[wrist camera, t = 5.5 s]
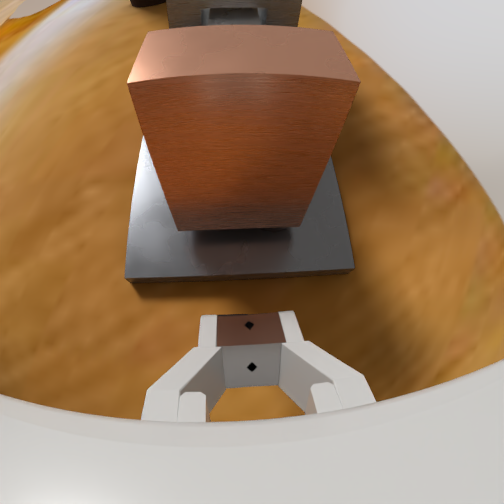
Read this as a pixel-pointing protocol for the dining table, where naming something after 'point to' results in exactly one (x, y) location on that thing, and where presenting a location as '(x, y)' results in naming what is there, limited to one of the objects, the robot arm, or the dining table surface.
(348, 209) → the dining table surface
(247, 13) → the shaft
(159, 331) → the dining table surface
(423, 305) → the dining table surface
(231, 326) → the robot arm
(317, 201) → the housing
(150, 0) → the coffee mug
